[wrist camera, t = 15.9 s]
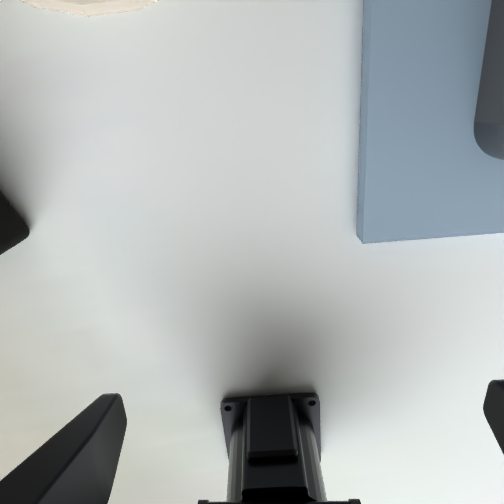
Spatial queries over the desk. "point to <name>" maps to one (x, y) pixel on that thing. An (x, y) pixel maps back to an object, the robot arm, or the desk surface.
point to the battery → (10, 226)
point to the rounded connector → (492, 87)
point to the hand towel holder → (90, 6)
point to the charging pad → (424, 123)
